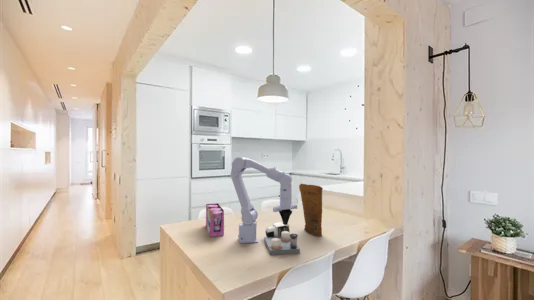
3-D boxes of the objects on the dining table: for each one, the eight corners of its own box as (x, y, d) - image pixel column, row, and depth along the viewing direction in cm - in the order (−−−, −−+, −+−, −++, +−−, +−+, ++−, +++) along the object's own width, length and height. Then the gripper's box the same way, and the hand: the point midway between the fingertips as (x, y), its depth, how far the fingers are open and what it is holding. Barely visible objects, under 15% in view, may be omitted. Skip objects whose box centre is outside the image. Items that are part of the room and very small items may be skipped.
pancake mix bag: (317, 238, 142) (317, 186, 142) (297, 228, 159) (298, 182, 159) (326, 236, 145) (327, 186, 145) (306, 227, 162) (307, 182, 162)
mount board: (270, 254, 119) (270, 249, 119) (264, 241, 137) (264, 236, 137) (299, 253, 121) (299, 248, 121) (290, 240, 139) (290, 235, 139)
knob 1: (272, 248, 121) (272, 241, 121) (270, 244, 125) (270, 238, 125) (281, 247, 122) (281, 241, 122) (279, 244, 126) (279, 238, 126)
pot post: (290, 249, 121) (290, 236, 121) (288, 246, 124) (289, 233, 124) (298, 248, 121) (298, 235, 121) (296, 246, 125) (296, 233, 125)
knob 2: (282, 240, 132) (282, 234, 132) (280, 237, 136) (280, 231, 136) (290, 239, 133) (290, 233, 133) (288, 236, 137) (288, 231, 137)
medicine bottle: (290, 237, 141) (269, 242, 137) (285, 233, 147) (265, 237, 144) (289, 224, 140) (268, 228, 137) (284, 221, 147) (264, 225, 143)
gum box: (224, 236, 143) (225, 211, 143) (210, 238, 141) (210, 212, 141) (218, 224, 166) (218, 203, 166) (205, 225, 164) (205, 203, 163)
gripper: (279, 200, 126) (278, 228, 126) (301, 197, 134) (301, 224, 134) (270, 198, 132) (270, 225, 132) (292, 195, 140) (292, 220, 140)
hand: (285, 224), depth 133 cm, fingers closed
